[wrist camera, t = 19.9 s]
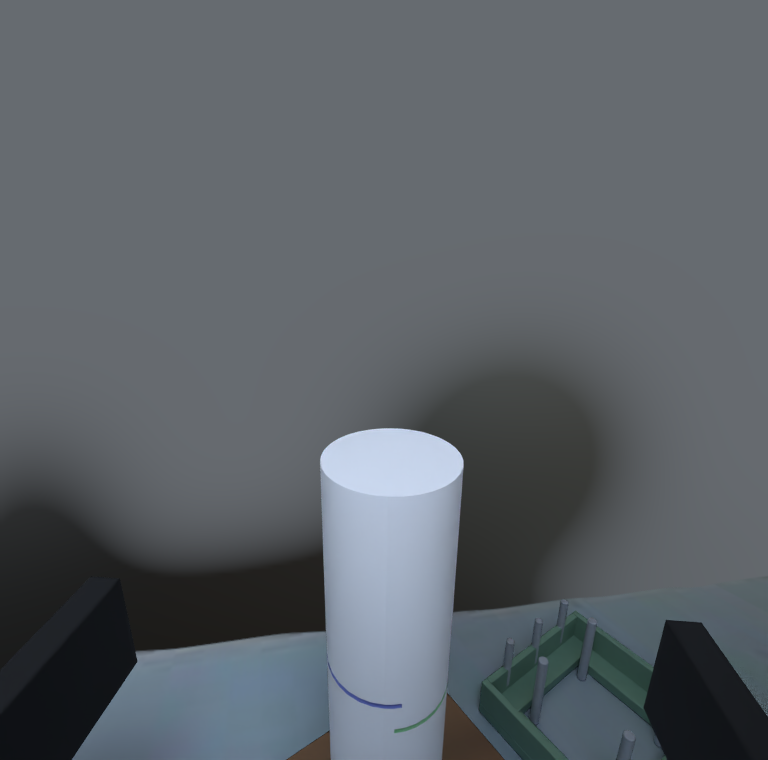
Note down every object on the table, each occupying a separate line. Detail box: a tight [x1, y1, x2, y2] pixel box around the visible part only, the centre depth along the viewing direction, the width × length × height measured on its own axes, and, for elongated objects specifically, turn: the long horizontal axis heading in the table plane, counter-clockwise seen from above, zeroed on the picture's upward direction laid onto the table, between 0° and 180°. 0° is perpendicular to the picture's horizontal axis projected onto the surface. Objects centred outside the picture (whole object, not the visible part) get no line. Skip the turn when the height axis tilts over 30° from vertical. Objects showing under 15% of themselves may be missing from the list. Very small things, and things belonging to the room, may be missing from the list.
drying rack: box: [479, 599, 667, 760], centre depth 38 cm, size 14×14×7 cm
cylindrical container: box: [320, 428, 463, 760], centre depth 27 cm, size 7×7×25 cm
